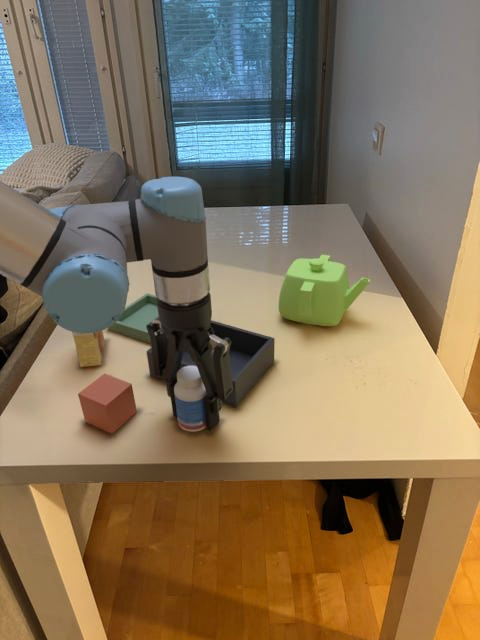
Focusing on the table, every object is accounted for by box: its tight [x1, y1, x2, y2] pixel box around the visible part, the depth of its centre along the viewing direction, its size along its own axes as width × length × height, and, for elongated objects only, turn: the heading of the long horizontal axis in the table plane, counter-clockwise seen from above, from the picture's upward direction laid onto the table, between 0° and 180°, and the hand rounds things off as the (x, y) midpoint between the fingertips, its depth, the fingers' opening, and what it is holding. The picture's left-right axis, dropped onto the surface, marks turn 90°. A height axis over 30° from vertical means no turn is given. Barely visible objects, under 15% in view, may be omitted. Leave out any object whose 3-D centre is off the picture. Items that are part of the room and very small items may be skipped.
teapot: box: [278, 254, 371, 327], centre depth 101 cm, size 18×20×13 cm
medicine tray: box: [107, 293, 159, 345], centre depth 102 cm, size 16×14×3 cm
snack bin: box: [146, 319, 276, 408], centre depth 87 cm, size 19×15×6 cm
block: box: [77, 373, 138, 435], centre depth 76 cm, size 6×6×6 cm
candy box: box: [71, 330, 106, 368], centre depth 89 cm, size 9×4×15 cm, turn 10°
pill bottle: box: [174, 366, 207, 432], centre depth 74 cm, size 6×5×10 cm
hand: (196, 418), depth 76 cm, fingers open, 6 cm apart
